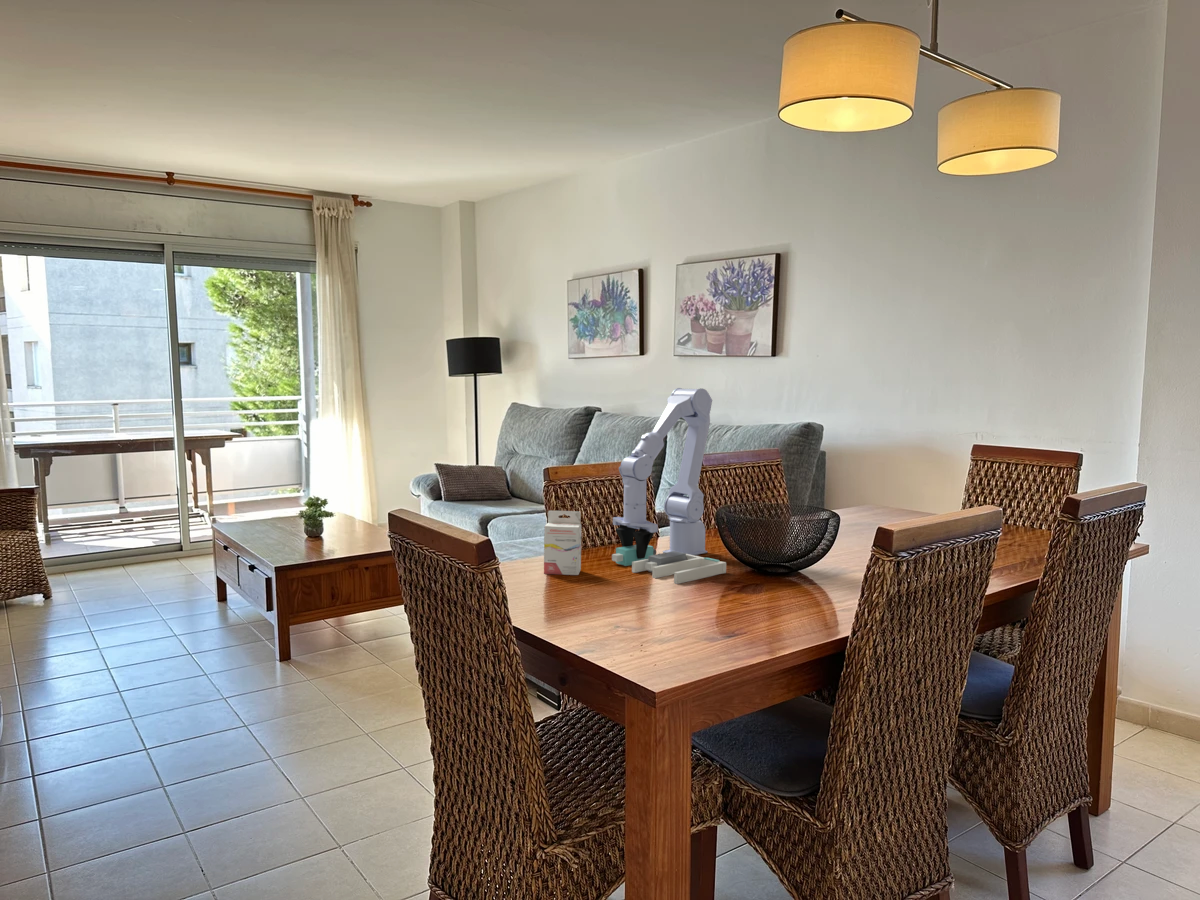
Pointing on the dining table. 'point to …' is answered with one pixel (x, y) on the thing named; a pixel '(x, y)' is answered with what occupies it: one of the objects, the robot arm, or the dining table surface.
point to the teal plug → (630, 554)
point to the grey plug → (664, 559)
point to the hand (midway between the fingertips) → (634, 556)
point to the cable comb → (684, 568)
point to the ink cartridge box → (562, 543)
